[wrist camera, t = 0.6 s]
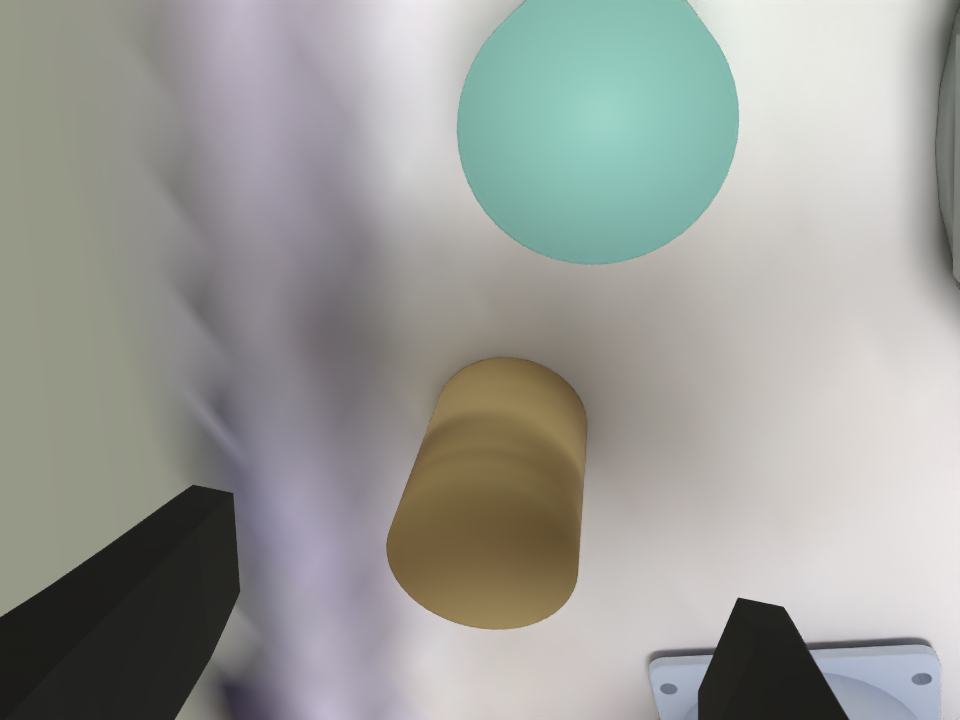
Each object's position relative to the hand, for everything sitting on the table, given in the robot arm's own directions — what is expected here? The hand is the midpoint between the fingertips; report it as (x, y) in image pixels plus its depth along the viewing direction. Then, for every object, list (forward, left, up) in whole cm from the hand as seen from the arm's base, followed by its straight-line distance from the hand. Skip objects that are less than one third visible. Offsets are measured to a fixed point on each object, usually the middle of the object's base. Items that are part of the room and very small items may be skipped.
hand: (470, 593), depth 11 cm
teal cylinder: (+5, -3, -9) cm, 10 cm away
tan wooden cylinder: (-3, +1, -9) cm, 9 cm away
